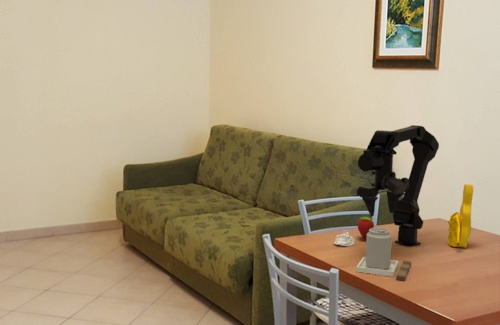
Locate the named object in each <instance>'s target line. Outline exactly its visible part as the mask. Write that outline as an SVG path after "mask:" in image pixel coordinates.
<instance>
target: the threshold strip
mask: <svg viewBox="0 0 500 325" xmlns="http://www.w3.org/2000/svg"><path fill="white" fill-rule="evenodd" d="M411 266H412V261H411V260H403V261H402V263H401V264H400V267H399V270H398V272H397V274H396V276H395V281H401V282H405V281H406V279H407V276H408V274H409V271H410V269H411Z"/></svg>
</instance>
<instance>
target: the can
mask: <svg viewBox="0 0 500 325" xmlns="http://www.w3.org/2000/svg"><path fill="white" fill-rule="evenodd" d="M392 239H393V238H392V234H391V233H390V229H388V228H383V227H374V228H371V229H369V232H368V233H367V239H366V244H365V246H366V247H365V249H366V250H365V257H366V265H367V266H368V268H372V269H380V270H386V269H388V268H389V267H390V263H391V260H392V259H391V257H392Z"/></svg>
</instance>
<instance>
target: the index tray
mask: <svg viewBox="0 0 500 325" xmlns="http://www.w3.org/2000/svg"><path fill="white" fill-rule="evenodd" d="M398 267H399V260H392V259H391V263H390V267H389V268H388V269H386V270H380V269H372V268H368V266H367V265H366V256H362V258H361V260H360V261H359V263H358V264H357V265H356V268H355V270H356V271H355V272H356V273H359V272H363V273H362V274H367V273H370V274H369V275H375V274H376V275H375V276H382V277H383V276H384V277H391V278H393V277H394V275H395V274H396V272H397V270H398Z"/></svg>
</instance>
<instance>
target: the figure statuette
mask: <svg viewBox="0 0 500 325" xmlns="http://www.w3.org/2000/svg"><path fill="white" fill-rule="evenodd" d="M473 194H474V185H473V184H464V185H463V191H462V200H461V205H460V209H459V212H455V213H452V214H451V216H450V217H449V221H447V223H448V225H449V228H448V230H447V231H448V234H447V242H448V245H449V246H450V247H454V248H455V247H456V248H464V249H465V248H467V246H468V240H469V239H470V235H471V232H472V204H473V202H472V201H473Z"/></svg>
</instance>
